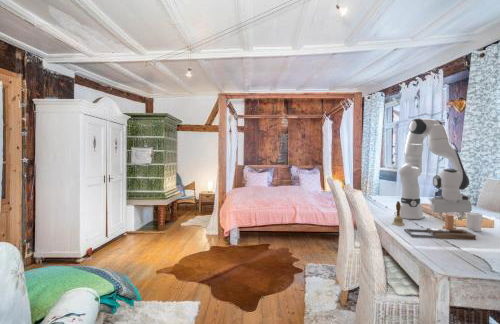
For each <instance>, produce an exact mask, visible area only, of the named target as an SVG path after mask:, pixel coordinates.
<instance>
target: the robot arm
mask: <svg viewBox="0 0 500 324" xmlns="http://www.w3.org/2000/svg"><path fill="white" fill-rule="evenodd" d="M425 138H427V143H428V149H429V151H430V152H431V153H432V154H434V155H436V156H440V157H443V158H444V159H448V160H449V161H450V162H451V165H452V168H445V169H443V170H442V171H441V172H440V173H436V174H435V175H434V176H433V178H432V185H433V186H434V187H435V188H436V189H438V190H441V196H433V197H432V198H431V211H432V212H433V213H437V214H438V215H439V217H440V220H441V221H445V216H443V214H444V213H459V214H460V215H459V216H457V219H458V221H462V220H463V218H464V216H465V215H466V212H473V211H472V202H471V200H470V199H471V197H470V196H468V195H466V194H462V193H461V191H463V190H466V189H467V188H468V187H469V185H470V179H469V177H468V175H467V173H466V171H465V168H464V165H463V163H462V160H461V157H460V155H459V152H458V150H457V148H454V147H453V146H452V145H451V144H450V140H449V135H448V132H447V129H446V126H445V125H444V123H443V121H441V120H438V119H432V118H413V119H412V120H410V121H409V125H408V133H407V137H406V142H405V146H404V147H405V148H404V164H403V165H402V166H401V167H400V168H399V169H398V170H399V171H398V173H399V176H400V183H401V197H400V205H401V208H400V217H401V218H402V219H405V220H407V219H409V220H421V219H424V218H426V216H425V215H424V213H423V212H424V211H423V210H424V209H423V206H422V205H421V198H420V196H421V195H420V189H421V187H420V183H419V178H418V177H420V176H421V175H422V173H423V172H422V171H423V153H424V152H423V151H424V146H425V145H424V144H425ZM395 210H396V211H394V214H395V217H397V209H395Z"/></svg>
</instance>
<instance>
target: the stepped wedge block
mask: <svg viewBox="0 0 500 324" xmlns="http://www.w3.org/2000/svg"><path fill="white" fill-rule="evenodd" d="M444 217H445V218H444V219H445V220H444V225H442V229H457V228H456V227H455V226H454V217H455V216H454V215H453V214H445V216H444Z"/></svg>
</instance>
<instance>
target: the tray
mask: <svg viewBox="0 0 500 324" xmlns="http://www.w3.org/2000/svg"><path fill="white" fill-rule="evenodd" d="M403 230H404V232H405V233H406V234H407V235H409V236H410V237H411V238H425V239H427V238H428V239H429V238H431V239H437V238H436V235H431V234H413V233H415V232H416V233H417V232H418V233H428V232H427V229H421V228H419V229H418V228H417V229H416V228H404V229H403Z"/></svg>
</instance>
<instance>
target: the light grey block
mask: <svg viewBox="0 0 500 324" xmlns="http://www.w3.org/2000/svg"><path fill="white" fill-rule="evenodd" d="M438 229H439V230H441V233H450V231H449V230H447V229H443V228H438Z"/></svg>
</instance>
